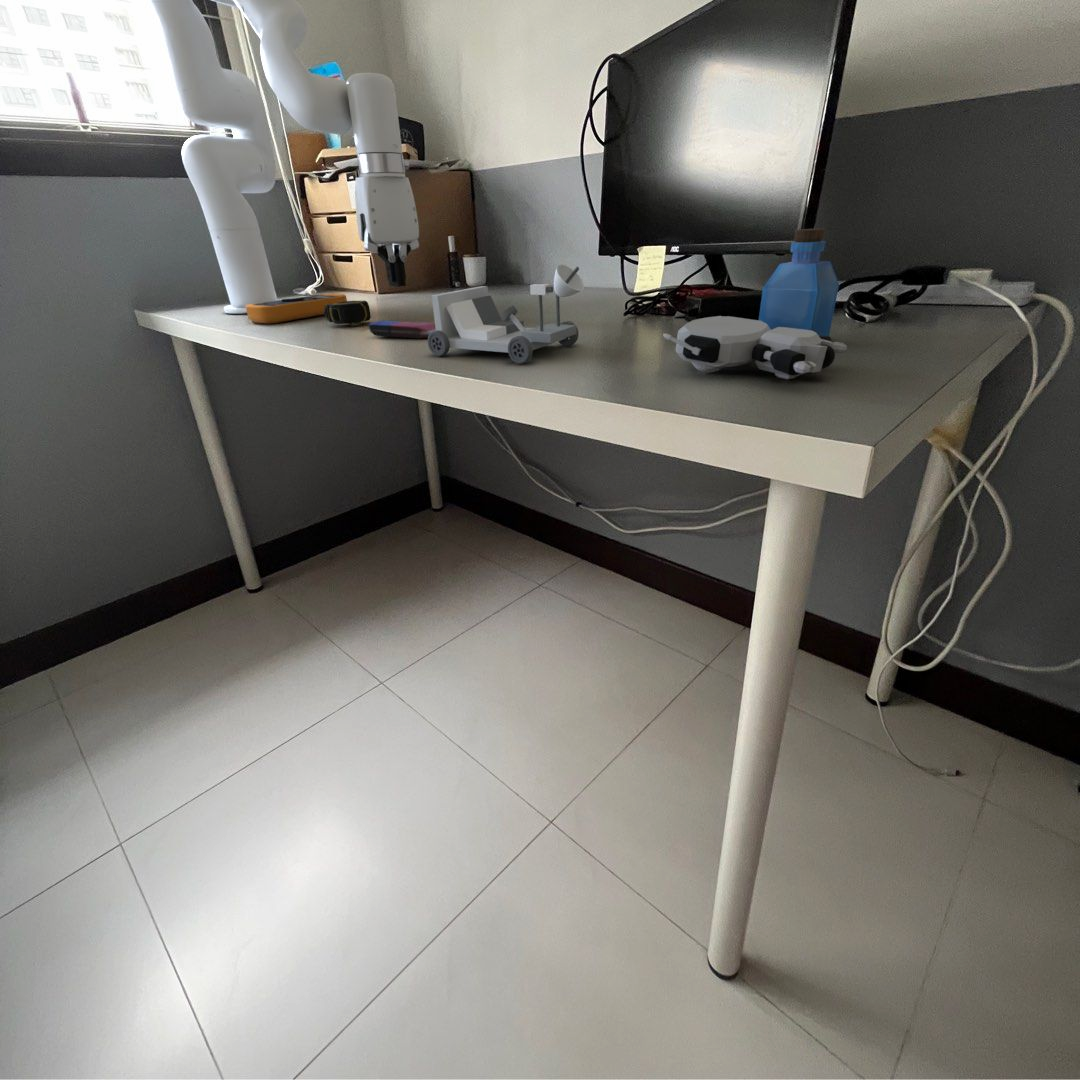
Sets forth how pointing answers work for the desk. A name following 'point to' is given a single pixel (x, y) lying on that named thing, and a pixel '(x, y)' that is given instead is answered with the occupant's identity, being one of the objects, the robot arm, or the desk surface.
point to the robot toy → (753, 346)
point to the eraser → (402, 329)
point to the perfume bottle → (802, 288)
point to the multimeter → (292, 308)
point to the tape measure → (348, 312)
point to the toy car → (500, 320)
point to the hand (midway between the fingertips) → (397, 285)
